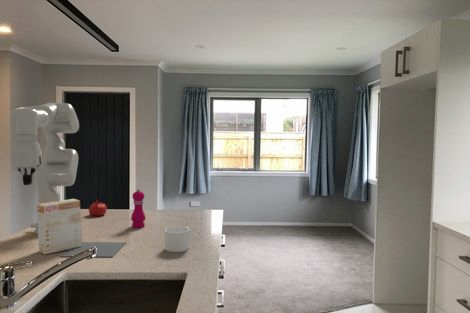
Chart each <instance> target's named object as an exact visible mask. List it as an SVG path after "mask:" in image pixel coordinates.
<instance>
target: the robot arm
mask: <svg viewBox="0 0 470 313" xmlns="http://www.w3.org/2000/svg"><path fill="white" fill-rule="evenodd" d="M9 121H10V124H11V125H12V126H13V127H16V128H15V131H16V132H15V133H16V134H15V136H13V137H12V138H13V140H15V142H13V146H12V152H11V166H12V167H13V168H12V169H13V170H14V171H18V172H19V173H20V174H21V175H22V183H23V186H30V185H32V183H33V175H34V174H35V181H36V182H35V183H36V187H37V188H36V189H37V204H39V203H46V202H54V201H61V196H60V192H59V191H58V189H57V188H56V187H71V186H73V185H74V184H75V181H76V178H77V171H78V166H79V154H78V152H77V150H75V149H73V148H65V147H66V142H65V141H64V139H63V138H62V137H61V136H60V135H59V134H75V133H77V132H79V130H80V122H79V119H78V116H77V113H76V111H75V108H74V107H73V106H72V104H70V103H68V102H65V103H64V102H47V103H44V104H39V105H32V106H23V107H22V106H21V107H17V108H14V109H13V110H12V111H11V112H10V115H9ZM38 128H42V129H43V130H42V131H43V134H44V138H45V140H46V144H45V149H44V153H43V158H42V149H41V145H40V142H39V141H38V140H39V139H38V134H39V133H38ZM42 165H44V166H42ZM30 228H35V229H34V234H37V235H38V222H31V223H30Z"/></svg>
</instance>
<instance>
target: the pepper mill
mask: <svg viewBox="0 0 470 313" xmlns="http://www.w3.org/2000/svg"><path fill="white" fill-rule="evenodd" d="M132 199H133V201H132V202H133V205H134V207H133V208H134V209H133V210H132V214H131V218H130V220H131V222H132V223H131V227H132V228H135V229H140V228H144V227H145V220H146V214H145V212H144V209H143V204H144V199H145V193H144V192H143V191H141V189H140V187H138V188H137V189H136V191H134V192H133V193H132Z"/></svg>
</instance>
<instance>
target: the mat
mask: <svg viewBox="0 0 470 313" xmlns="http://www.w3.org/2000/svg"><path fill="white" fill-rule="evenodd" d="M126 244H127V242H118V241H117V242H114V241H113V242H112V241H111V242H110V241H109V242H108V241H107V242H106V241H105V242H102V241H99V242H97V241H82V246H80V247H76V248H71V249H67V251H65V252H64V253H62V254H61V255H60V256H59V257H60V258H72V257H71V256H72V255H75V254H76V253H79V252H81V251H83V250H86V249H88V248H90V247H92V246H96V248H97V254H96V257H95V258H114V256H116V254H118V253H119V252H120V250H122V248H124V246H125V245H126Z"/></svg>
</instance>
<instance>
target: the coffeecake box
mask: <svg viewBox="0 0 470 313" xmlns="http://www.w3.org/2000/svg"><path fill="white" fill-rule="evenodd" d="M36 219H37V220H36V223H38V234H37V237H38V252H39V253H41V254H43V255H49V254H53V253H58V252H62V251H66V250H67V251H68V250H69V249H71V248H76V247H80V246H82V242H83V241H82V240H83V239H82V222H81V221H82V220H81V219H82V218H81V200H79V199H76V198H70V199H63V200H61V199H60V201H54V202H46V203H39V204H38V203H36Z"/></svg>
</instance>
